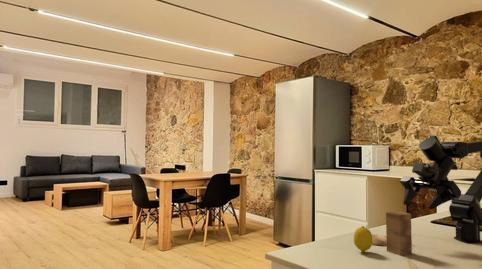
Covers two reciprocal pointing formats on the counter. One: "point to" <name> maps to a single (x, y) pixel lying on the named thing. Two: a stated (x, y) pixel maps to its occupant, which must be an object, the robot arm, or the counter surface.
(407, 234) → the walnut block
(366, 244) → the lemon
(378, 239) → the cork trivet
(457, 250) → the counter surface
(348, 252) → the counter surface
